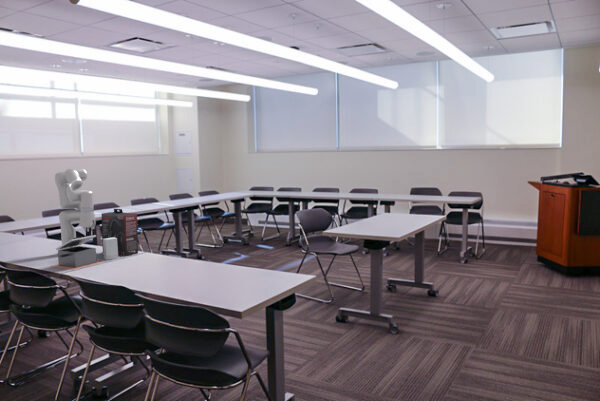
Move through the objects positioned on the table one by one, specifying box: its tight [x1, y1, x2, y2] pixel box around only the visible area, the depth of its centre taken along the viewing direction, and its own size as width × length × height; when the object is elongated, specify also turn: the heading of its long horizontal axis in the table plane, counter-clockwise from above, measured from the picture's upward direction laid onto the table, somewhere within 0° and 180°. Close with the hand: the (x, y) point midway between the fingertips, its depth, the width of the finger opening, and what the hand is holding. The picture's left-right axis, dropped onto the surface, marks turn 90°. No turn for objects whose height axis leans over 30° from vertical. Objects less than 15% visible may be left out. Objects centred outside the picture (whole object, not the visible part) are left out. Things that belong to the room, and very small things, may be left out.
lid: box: [55, 234, 97, 251], centre depth 312 cm, size 17×18×3 cm
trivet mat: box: [50, 260, 103, 271], centre depth 314 cm, size 21×24×1 cm
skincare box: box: [102, 237, 119, 261], centre depth 330 cm, size 8×6×15 cm
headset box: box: [100, 208, 139, 257], centre depth 349 cm, size 24×13×33 cm, turn 62°
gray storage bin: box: [57, 245, 97, 268], centre depth 313 cm, size 16×24×10 cm
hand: (88, 237), depth 317 cm, fingers closed
